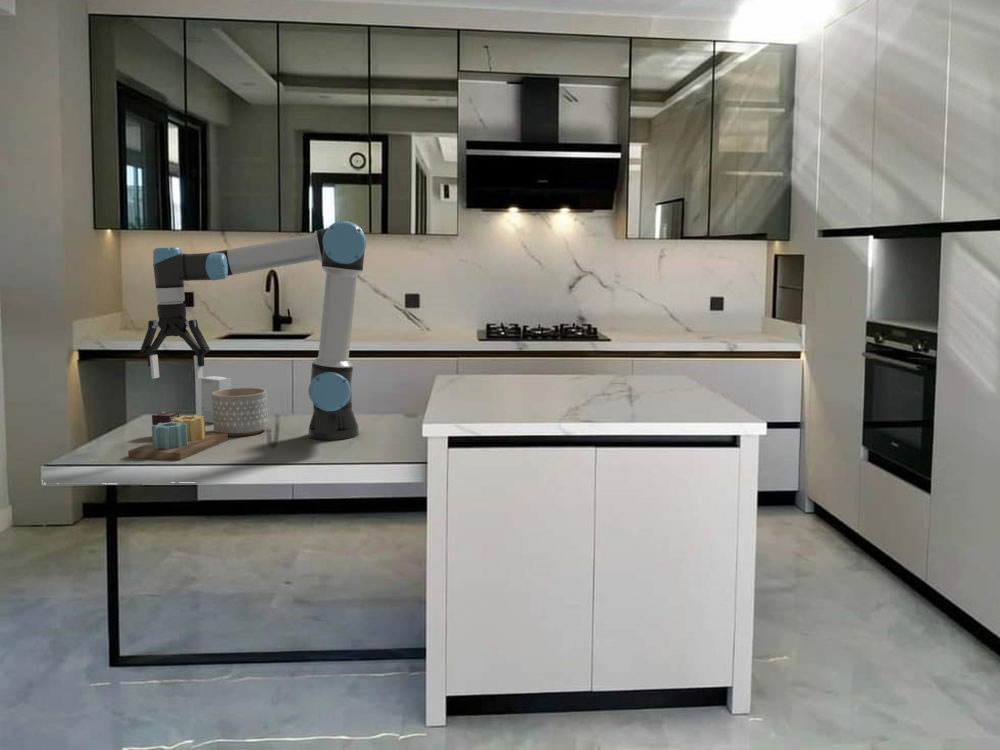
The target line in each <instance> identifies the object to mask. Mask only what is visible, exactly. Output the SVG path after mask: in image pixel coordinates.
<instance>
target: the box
mask: <svg viewBox="0 0 1000 750" xmlns="http://www.w3.org/2000/svg"><path fill="white" fill-rule="evenodd" d="M174 417H180V412H179V411H175V412H174V411H162V412H157V413H155V414H152V415H151V422H152V425H158V423H169V422H172V421H171V420H172V419H173V418H174ZM152 425H151V426H152Z"/></svg>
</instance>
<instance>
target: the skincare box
mask: <svg viewBox="0 0 1000 750" xmlns="http://www.w3.org/2000/svg"><path fill="white" fill-rule="evenodd" d="M200 380H201V381H200V382H201V383H200V384H201V416H204V418H205V423H212V424H213V407H212V393H213V392H215V391H219V390H224V389H232V378H230V377H226V376H217V375H215V376H214V375H210V376H206V377H205V376H203V377H202V378H200Z"/></svg>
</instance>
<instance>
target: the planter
mask: <svg viewBox="0 0 1000 750" xmlns="http://www.w3.org/2000/svg"><path fill="white" fill-rule="evenodd" d="M267 399H268V397H267V390H266V389H264V388H260V387H259V388H258V387H235V388H232V387H231V389H224V390H219V391H215V392H213V393H212V407H213V423H212V424H213V431H214V432H215V433H228V437H242V436H243V437H244V436H252V435H256V434H260V433H261V432H263V431H264V430H265V429H267V428H268V427H269V421H268V420H269V418H268V400H267Z"/></svg>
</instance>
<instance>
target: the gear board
mask: <svg viewBox="0 0 1000 750" xmlns="http://www.w3.org/2000/svg"><path fill="white" fill-rule="evenodd" d="M205 435H206V437H204V439H197V440H195V441H187V442H188V445H183V446H182V447H180V448H177V447H176V448H170V449H165V448H159V449H156V448H155V447H153V441H151V442H147V443H146V444H143V445H140V446H138V447H137V446H136V447H134V448H132V449H130V450H128V451H127V453H128V458H130V459H148V460H149V459H150V460H171V461H172V460H173V461H182V460H184V459H187V458H189V457H191V455H192V456H194V455H197V454H198V452H199V453H200V451H201V452H203V451H206V450H208V449H210V448H213V447H215V446H217V445H219V443H220V444H222V443H225V442H227V441H228V440H229V436H228V433H219V432H205ZM212 446H213V447H212ZM207 448H208V449H207ZM205 449H206V450H205ZM193 454H194V455H193ZM188 456H189V457H188ZM186 457H187V458H186Z"/></svg>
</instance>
